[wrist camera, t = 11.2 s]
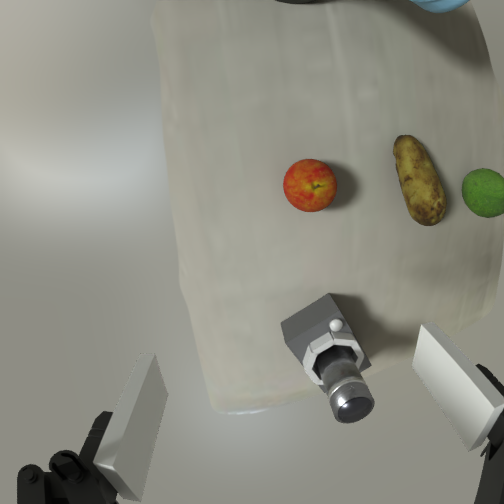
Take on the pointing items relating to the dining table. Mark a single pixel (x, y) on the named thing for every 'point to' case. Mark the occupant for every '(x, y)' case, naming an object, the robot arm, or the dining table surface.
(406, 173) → the potato
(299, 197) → the fruit
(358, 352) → the grey block
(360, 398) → the lens
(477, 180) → the fruit
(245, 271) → the dining table surface
